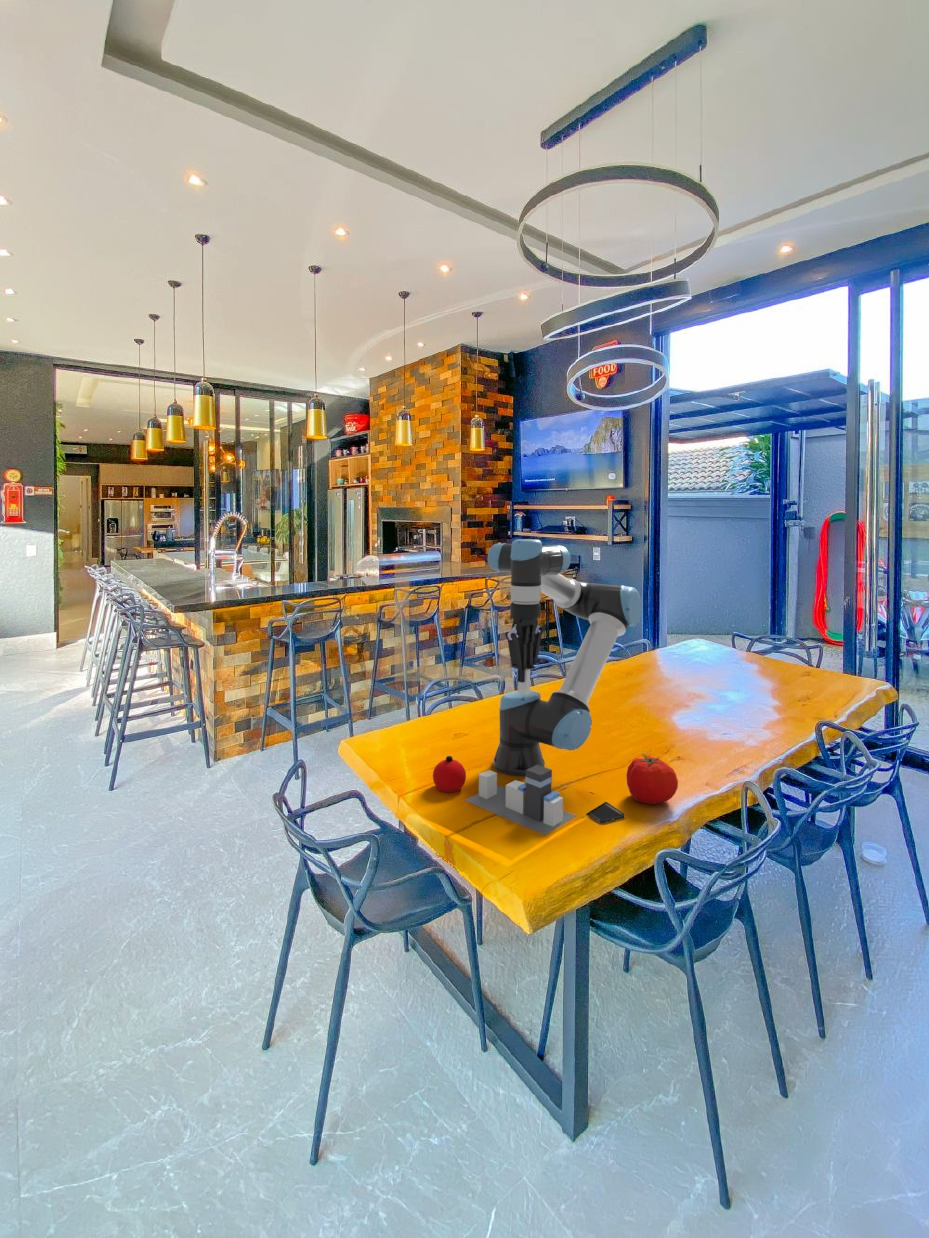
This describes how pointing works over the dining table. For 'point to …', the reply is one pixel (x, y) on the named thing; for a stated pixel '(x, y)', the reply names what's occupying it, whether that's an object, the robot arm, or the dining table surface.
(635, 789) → the tomato
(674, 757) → the dining table surface
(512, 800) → the grey plate with blocks
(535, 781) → the plug
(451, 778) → the ornament
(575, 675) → the robot arm
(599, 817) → the phone
